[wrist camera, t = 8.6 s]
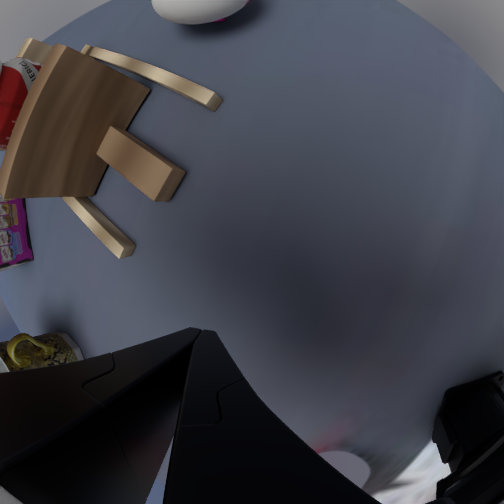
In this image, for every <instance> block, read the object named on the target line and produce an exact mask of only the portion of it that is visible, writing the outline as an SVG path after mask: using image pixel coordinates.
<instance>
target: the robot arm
mask: <svg viewBox="0 0 504 504" xmlns="http://www.w3.org/2000/svg"><path fill="white" fill-rule="evenodd" d="M503 381H504V373H503V372H502V371H500V372H498V373H495V374H493V375H490V376H488V377H485V378H482V379H480V380H477V381H474V382H471V383H468V384H465V385H462V386H459V387H456V388H452V389H450V390H448V391H447V392H446V393H445V396H444V400H443V404H442V408H441V411H440V413H439V414H438V417H437V420H436V424H435V427H434V430H433V437H432V441H433V443H436V444H437V447H438V450H439V453H440V457H441V460H442V462H443V463H444V464H446V463H448V464H449V467H450V470H451V474H450V475H448V476H447V477H445V478H444V479H441V480H440V481H438V482H437V490H436V500H434V501H431V502H428V503H426V504H504V392H503V391H502V390H501V387H502V384H503ZM173 436H174V438H173ZM172 439H173V444H172V449H171V455H170V461H169V467H168V473H167V479H166V485H165V491H164V498H163V504H381V503H380V502H379V501H377V500H376V499H374V498H373V497H371V496H370V495H369V494H367V493H366V492H365V491H363V490H362V489H361V488H359V487H358V486H357V485H355V484H354V483H353V482H351V481H350V480H349V479H347V478H346V477H345V476H344V475H342V474H341V473H340V472H339V471H337V470H336V469H335V468H334V467H333V466H331V465H330V464H329V463H328V462H327V461H325V460H324V459H323V458H322V457H321V456H320V455H318V454H317V453H316V452H315V451H314V450H313V449H312V448H310V447H309V446H308V445H307V444H306V443H305V442H304V441H303V440H302V439H301V438H299V437H298V436H297V435H296V434H295V433H294V432H293V431H292V430H291V429H290V428H289V427H288V426H287V425H286V424H285V423H283V422H282V421H281V420H280V419H279V418H278V417H277V416H276V415H275V414H274V413H273V412H272V411H271V410H270V409H269V408H268V407H267V406H266V404H265V403H264V402H263V401H262V400H261V399H260V398H259V397H258V395H257V394H256V393H255V391H254V390H253V389H252V387H251V386H250V384H249V383H248V381H247V380H246V379H245V378H244V376H243V374H242V373H241V371H240V370H239V368H238V367H237V365H236V364H235V362H234V360H233V359H232V357H231V356H230V354H229V353H228V351H227V349H226V348H225V346H224V345H223V343H222V341H221V340H220V338H219V336H218V335H217V333H216V332H215V331H211V330H203V331H202V330H201V329H198V328H192V327H189V328H186V329H184V330H181V331H178V332H175V333H172V334H169V335H166V336H163V337H160V338H157V339H154V340H151V341H147V342H144V343H141V344H138V345H135V346H132V347H128V348H125V349H122V350H119V351H115V352H112V353H107V354H103V355H100V356H96V357H92V358H88V359H84V360H80V361H75V362H70V363H64V364H59V365H53V366H46V367H40V368H33V369H26V370H19V371H11V372H2V373H0V504H145V503H146V500H147V497H148V495H149V493H150V491H151V488H152V486H153V484H154V481H155V479H156V476H157V474H158V472H159V469H160V467H161V465H162V462H163V460H164V458H165V455H166V453H167V450H168V448H169V446H170V443H171V441H172Z"/></svg>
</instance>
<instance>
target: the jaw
mask: <svg viewBox="0 0 504 504" xmlns="http://www.w3.org/2000/svg"><path fill="white" fill-rule="evenodd" d="M149 91H150V89H148V88H147V87H145V86H143V85H141V84H140V83H138V82H136V81H134V80H133V79H131V78H129V77H127V76H125V75H124V74H122V73H120V72H118V71H116V70H114V69H112V68H110V67H109V66H107V65H105V64H103V63H101V62H99V61H97V60H95V59H93V58H91V57H89V56H87V55H85V54H83V53H80V52H78V51H76V50H74V49H72V48H70V47H67V46H64V45H60V44H55V45H54V47H53V49H52V50H51V52H50V53H49V55H48V57H47V59H46V60H45V62H44V64H43V66H42V67H41V69H40V71H39V73H38V75H37V77H36V79H35V80H34V82H33V84H32V86H31V89H30V91H29V93H28V95H27V97H26V99H25V101H24V104H23V106H22V108H21V111H20V113H19V116H18V118H17V121H16V123H15V126H14V129H13V131H12V134H11V137H10V140H9V143H8V146H7V149H6V152H5V156H4V159H3V162H2V166H1V170H0V193H1V195H2V197H3V199H15V198H39V197H93V195H94V193H95V191H96V188H97V186H98V184H99V182H100V179H101V177H102V175H103V173H104V171H105V169H106V167H107V165H108V164H109V165H110V166H111V167H113V168H114V169H115V170H116V171H117V172H119V173H120V174H121V175H122V176H123V177H125V178H126V179H127V180H128V181H130V182H131V183H132V184H133V185H134V186H136V187H137V188H138V189H139V190H141V191H142V192H143V193H144V194H146V195H147V196H148V197H149V198H150V199H152V200H153V201H161V202H169V200H170V198H171V196H172V195H173V193H174V191H175V190H176V188H177V186H178V184H179V183H180V181H181V179H182V178H183V176H184V174H185V173H186V172H185V171H184V170H183V169H181V168H180V167H178V166H177V165H175V164H174V163H172V162H171V161H170V160H168V159H167V158H165V157H164V156H162V155H161V154H159V153H158V152H156V151H155V150H153V149H152V148H150V147H149V146H148V145H146V144H145V143H143V142H142V141H140V140H139V139H137V138H136V137H134V136H133V135H131V134H130V133H128V132H127V131H125V130H126V128H127V127H128V125H129V123H130V121H131V120H132V118H133V116H134V115H135V113H136V111H137V110H138V108H139V106H140V105H141V103H142V102H143V100H144V98H145V97H146V95H147V94H148V92H149Z"/></svg>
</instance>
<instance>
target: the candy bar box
mask: <svg viewBox="0 0 504 504" xmlns="http://www.w3.org/2000/svg"><path fill="white" fill-rule="evenodd" d="M32 260H33V254H32V249H31V244H30V238H29V232H28V226H27V218H26V211H25V202H24V198H15V199H3V197H2V195H1V193H0V271H3V270H7V269H10V268H14V267H17V266H20V265H22V264H25V263H27V262H30V261H32Z"/></svg>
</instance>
